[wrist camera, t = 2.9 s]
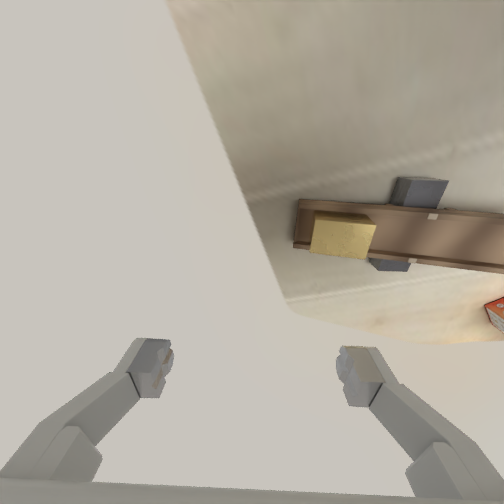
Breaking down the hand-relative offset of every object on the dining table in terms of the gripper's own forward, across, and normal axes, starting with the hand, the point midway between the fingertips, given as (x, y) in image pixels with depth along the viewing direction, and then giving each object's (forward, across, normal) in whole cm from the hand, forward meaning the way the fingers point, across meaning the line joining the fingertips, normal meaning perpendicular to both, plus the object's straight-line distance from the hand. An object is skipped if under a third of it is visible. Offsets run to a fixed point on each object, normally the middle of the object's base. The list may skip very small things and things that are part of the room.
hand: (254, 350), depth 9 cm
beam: (+17, -19, 0) cm, 26 cm away
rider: (+18, -10, 0) cm, 20 cm away
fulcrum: (+20, -19, 0) cm, 28 cm away
